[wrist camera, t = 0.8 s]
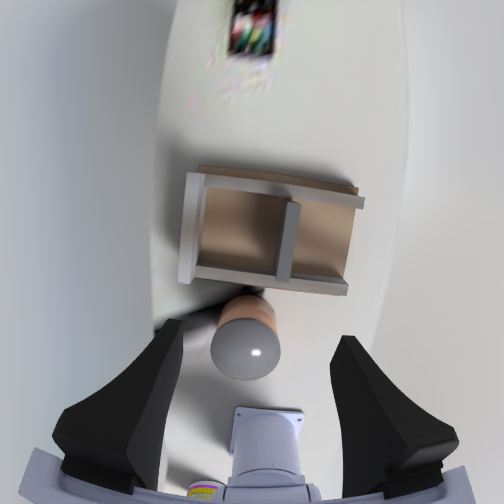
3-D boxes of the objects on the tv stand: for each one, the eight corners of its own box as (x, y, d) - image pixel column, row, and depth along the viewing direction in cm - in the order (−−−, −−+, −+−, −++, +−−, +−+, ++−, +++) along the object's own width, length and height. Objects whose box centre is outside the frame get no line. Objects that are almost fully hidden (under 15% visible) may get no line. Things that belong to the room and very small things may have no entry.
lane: (336, 292, 29) (350, 313, 24) (189, 273, 29) (176, 291, 24) (355, 187, 27) (374, 189, 22) (200, 165, 27) (188, 161, 22)
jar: (272, 348, 30) (274, 383, 25) (217, 341, 30) (208, 375, 25) (281, 297, 29) (286, 326, 23) (222, 290, 29) (213, 317, 23)
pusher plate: (284, 268, 27) (288, 282, 23) (273, 266, 27) (275, 281, 23) (294, 201, 26) (301, 204, 22) (283, 199, 26) (287, 202, 22)
